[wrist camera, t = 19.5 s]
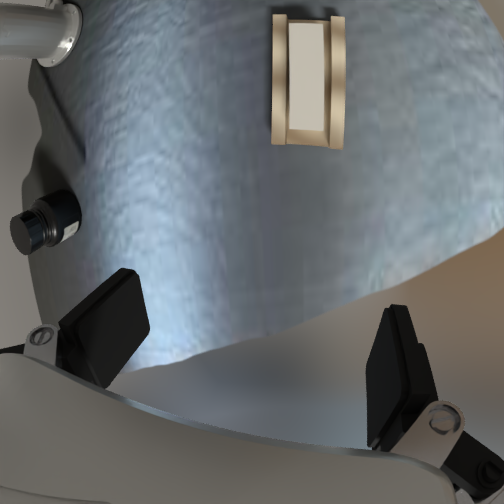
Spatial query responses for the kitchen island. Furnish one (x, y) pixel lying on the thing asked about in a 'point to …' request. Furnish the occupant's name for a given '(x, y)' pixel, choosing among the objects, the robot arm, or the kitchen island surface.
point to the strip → (306, 76)
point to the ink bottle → (46, 222)
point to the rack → (332, 85)
